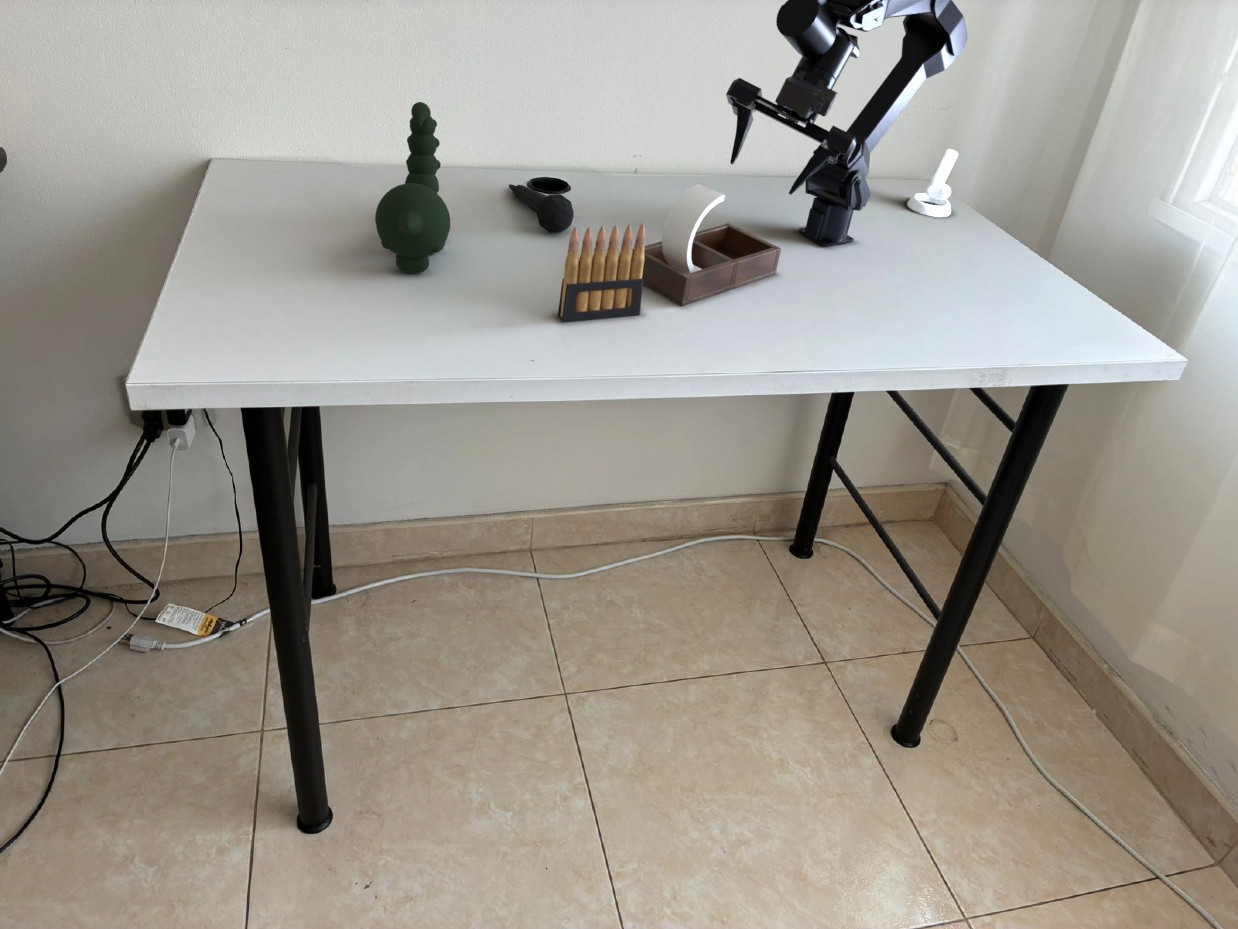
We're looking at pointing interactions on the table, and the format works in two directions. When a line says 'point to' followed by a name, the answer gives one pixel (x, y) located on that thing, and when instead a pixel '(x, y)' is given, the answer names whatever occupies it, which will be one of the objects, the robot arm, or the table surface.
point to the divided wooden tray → (711, 265)
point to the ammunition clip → (602, 277)
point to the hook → (936, 190)
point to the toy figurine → (415, 201)
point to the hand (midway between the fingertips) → (760, 178)
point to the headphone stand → (686, 225)
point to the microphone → (546, 208)
